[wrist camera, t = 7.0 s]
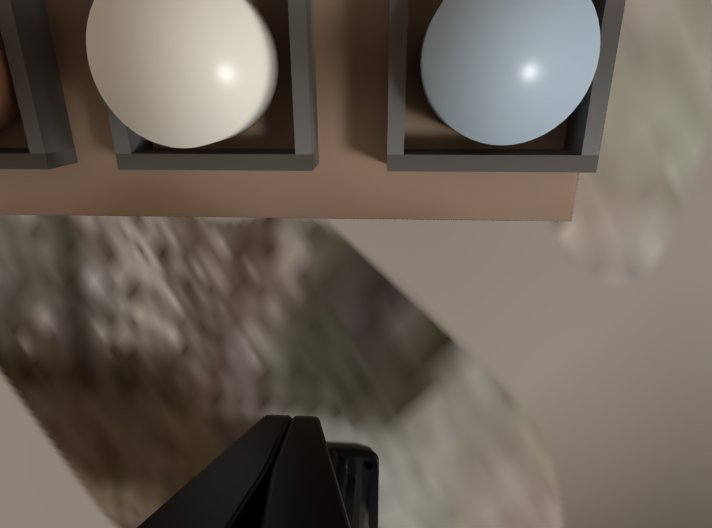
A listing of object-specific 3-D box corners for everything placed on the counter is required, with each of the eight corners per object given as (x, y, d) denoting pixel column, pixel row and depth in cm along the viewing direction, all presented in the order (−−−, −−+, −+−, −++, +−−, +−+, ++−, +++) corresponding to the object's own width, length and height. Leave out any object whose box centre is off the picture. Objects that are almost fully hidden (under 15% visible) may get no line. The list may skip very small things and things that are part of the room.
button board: (552, 207, 18) (588, 234, 15) (-29, 201, 19) (-114, 224, 16) (597, -112, 14) (658, -171, 11) (-114, -89, 16) (-245, -136, 13)
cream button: (283, 140, 14) (265, 148, 12) (144, 140, 15) (104, 147, 13) (273, -25, 13) (251, -47, 11) (118, -22, 13) (68, -43, 11)
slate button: (557, 137, 15) (584, 145, 13) (415, 137, 15) (420, 145, 13) (579, -25, 13) (615, -46, 11) (422, -21, 13) (427, -42, 11)
